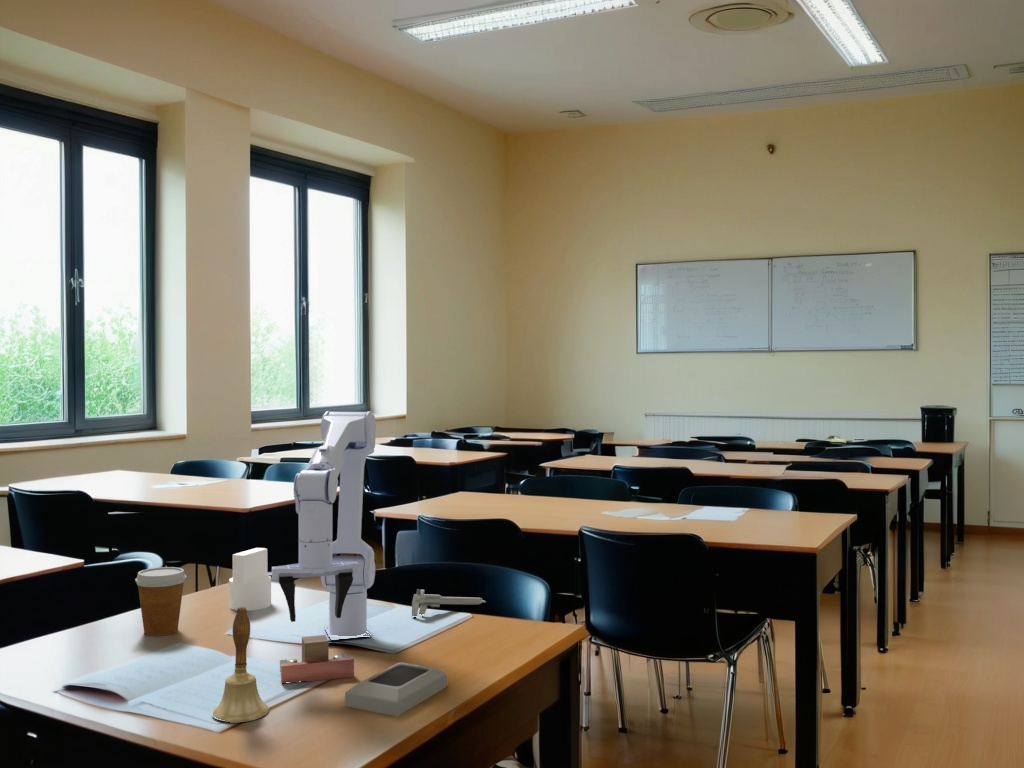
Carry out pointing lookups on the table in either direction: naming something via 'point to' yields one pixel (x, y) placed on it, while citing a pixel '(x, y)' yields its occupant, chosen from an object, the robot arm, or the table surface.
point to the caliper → (438, 601)
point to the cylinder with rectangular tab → (250, 580)
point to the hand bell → (241, 681)
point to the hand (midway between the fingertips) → (315, 618)
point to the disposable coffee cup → (160, 599)
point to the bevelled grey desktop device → (396, 689)
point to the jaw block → (315, 648)
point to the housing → (317, 669)
